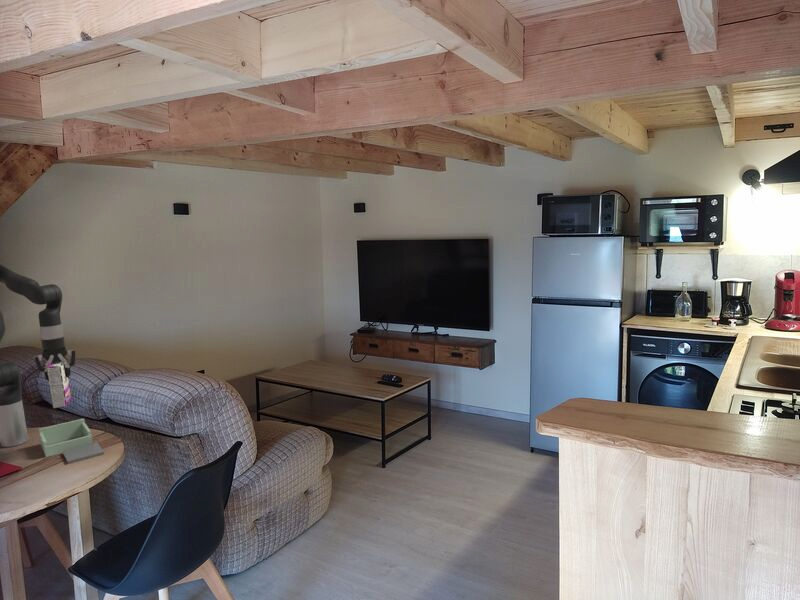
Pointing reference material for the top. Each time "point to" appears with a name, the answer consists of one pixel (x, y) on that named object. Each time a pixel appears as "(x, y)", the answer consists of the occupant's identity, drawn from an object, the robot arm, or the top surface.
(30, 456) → the top surface
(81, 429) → the frame
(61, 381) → the candy bar box
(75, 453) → the slate tile
